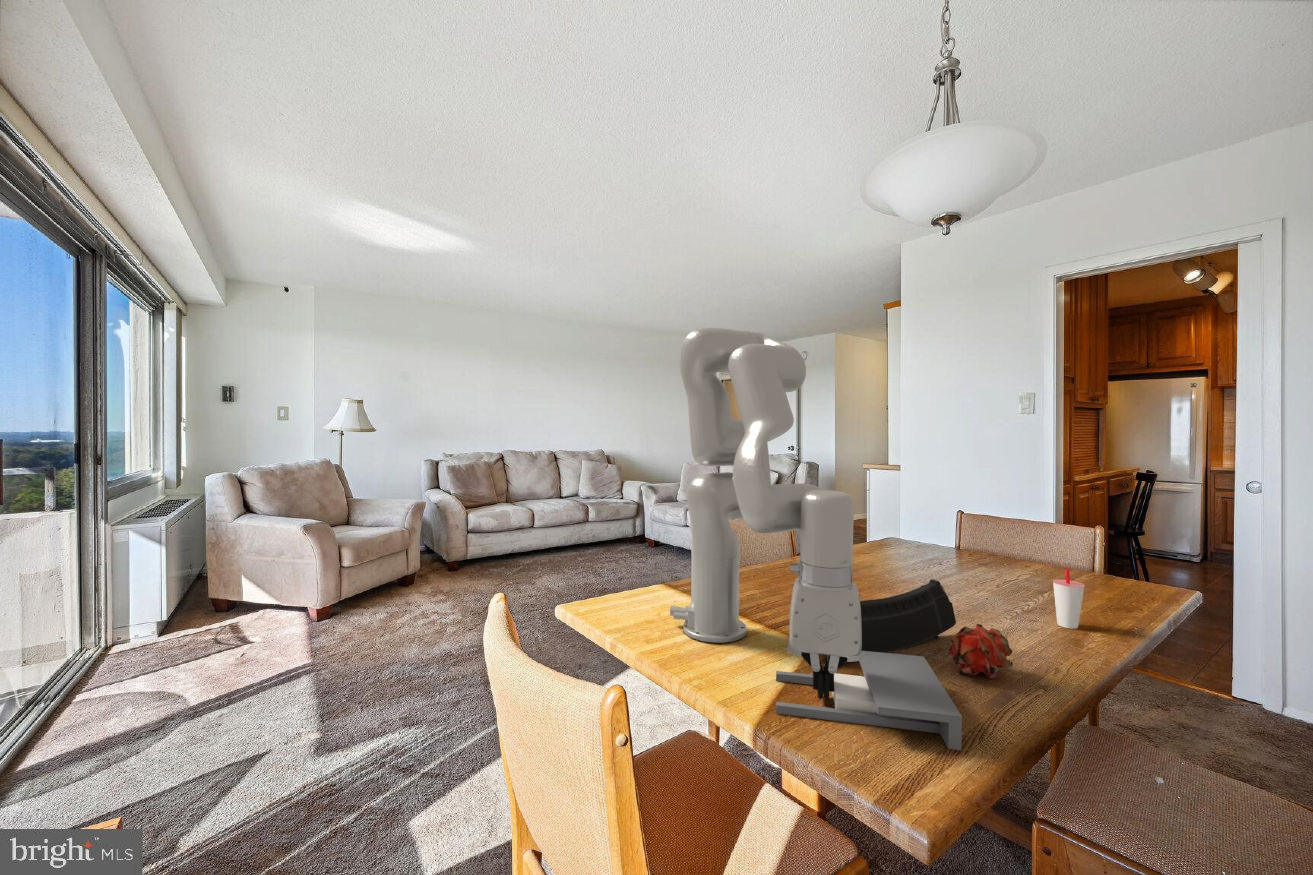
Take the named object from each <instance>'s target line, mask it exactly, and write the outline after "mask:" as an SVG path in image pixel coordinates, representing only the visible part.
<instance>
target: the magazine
mask: <svg viewBox="0 0 1313 875" xmlns="http://www.w3.org/2000/svg"><path fill="white" fill-rule="evenodd" d="M945 590H946V589H945V588H944V586H943V584H941V582H940V581H939V580H937V579H933V578H931V579H930V580H929V581H928V583H925V584H922V585H921V586H920V587H917V588H915V589H912V590H909V591H906V592H904V593H901V594H896V595H893V596H889V597H884V598H876V599H867V600H866V599H865V600H860V605H861V621H862V649H861V651H870V652H880V653H892V652H893V653H894V652H896V651H901V650H904V649H908V648H912V647H913V646H917V645H919V644H921V643H924V642H927V641H928V640H930V639H933V638H934V639H937V640H939V639H940V637H939V635H941V634H943V633H945V632H946V631H949V630H950V629H952V628H953V627H954V626H955V625H956V624H957V620H956V615H955V611H954V605H953V602H951V601H950V599H949V596H948V595H947V593H946V591H945ZM820 655H821V656H823V657H825V658H828V655H822V654H820Z"/></svg>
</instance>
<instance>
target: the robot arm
mask: <svg viewBox="0 0 1313 875" xmlns="http://www.w3.org/2000/svg"><path fill="white" fill-rule="evenodd" d="M681 344H682V345H681V348H680V354H679V370H680V376H681V380H682V383H683V385H684V389H685V393H686V394H685V395H686V397H687V406H688V422H689V424H688V425H689V437H690V447H691V448H690V449H691V454H692V457H693V460H694V461H695V462H696V463H697V464H699V465H701V466H706V467H732V466H733V467H732V472H730V471H729V472H727V471H726V472H711V473H704V474H700V475H698V476H696V477H695V478H693V479H692V480H691V482H690V483H689V484H688V486H687V490H686V502H687V503H686V504H687V509H688V513H689V520H690V534H691V536H690V537H691V539H690V540H691V541H690V542H691V548H690V549H691V550H690V551H691V552H690V553H691V561H690V562H691V563H690V564H691V569H690V570H691V572H690V573H691V580H690V583H691V584H690V585H691V587H690V588H691V589H690V592H691V594H690V597H691V598H690V605H685V607H681V606H677V605H676V606H674V605H670V607H669V616H670V617H672V616H673V620H679V621H680V620H682V621H684V622H683V624H682V625H683V627H682V630H683V632H684V634H685V635H687V636H688V637H690V638H691V639H695V640H697V641H701V642H705V643H713V644H715V643H716V644H717V643H718V644H719V643H721V644H722V643H725V644H726V643H731V642H736V641H739V640H741V639H742V638H744V637H745V636H746V635H747V632H748V631H747V630H748V628H747V625H746V623H745V622H744V621H743V620H741V619H740V542H739V539H738V536H737V534H736V533H735V531H734V529H733V528H732V526H731V524H730V521H734V520H743V521H744V522H745V524H746V525H747V526H748V528H750V529H751V530H752V531H754V532H756V533H758V534H763V535H764V534H765V535H766V534H774V533H784V532H785V533H786V532H799V531H800V535H799V536H800V537H799V538H800V539H799V541H800V543H799V560H797V562H795V563H792V562H791V563H789V573H794V574H795V575H797V577H796V578H795V580H794V584H793V587H792V593H791V601H790V609H789V611H790V612H789V622H788V623H789V625H788V626H789V628H788V633H789V634H788V636H789V639H788V643H787V646H786V648H787V652H788V653H789V654H792V655H794V656H797V657H801V658H803V660H804V661H805V662H806V663H807V664H808V665H809V666H810V667H811V669H812V675H813V685H812V690H815V691H816V690H817V699H820V700H822V699H825V700H827V701H828V700H830V693H832V692H834V673H836V674H837V672H838V671H837V670H839V669H840V668H841V667H842V666H843V665H845V664H846V663H847V662H849V663H851V662H852V663H853V662H859V661H861V660H862V654H861V649H862V621H861V605H860V601H861V599H860V592H859V588H858V585H857V584H856V583H854V582H853V567H854V565H853V564H854V562H853V561H854V560H853V556H854V554H853V553H854V524H855V523H854V520H855V518H854V516H855V515H854V514H855V502H854V499H853V497H852V496H851V494H849V493H847V492H844V491H841V490H835V489H834V490H831V489H825V488H822V487H819V486H817V485H814V484H811V483H805V482H804V483H780V484H772V478H771V466H770V455H769V444H768V442H770V441H772V440H775V439H778V438H779V437H781V436H783V435H785V434H786V433H787V432H789V431H790V429H792V427H793V425H794V423H795V422H794V421H795V420H794V419H795V418H794V415H793V411H792V409H791V405H790V403H789V402H790V401H789V399H788V395H787V393H792V392H795V391H797V390H798V389H800V388H801V387H802V385H803V384H804V382H805V380H806V376H807V366H806V362H805V360H804V358H803V356H802V353H800V352H799V350H797V349H796V348H795V347H793V346H791V345H790V344H787V343H785V342H782V341H781V340H778V339H777V338H774V337H772V336H769V335H767V334H764V333H760V332H757V331H748V330H739V329H737V330H736V329H731V328H724V327H723V328H721V327H701V328H697V329H694V330H693V331H691V332H690V333H688V334H687V335H686V336H685V338H684V340H683V342H682V343H681ZM717 373H726V374H729V376H730V380H731V385H732V388H733V393H734V396H735V399H736V403H737V406H738V411H739V414H740V418H741V419H737V418H735V419H734V418H733V417H732V411H731V410H732V409H731V399H730V395H729V393H728V390H727V389H726V387H725V385H724V383H723V382H722V380H720V378H719V377H718V376H717V375H716V374H717ZM821 654H822V655H821ZM819 655H821V656H823V655H828V657H826V658H827V660H826V662H825V663H824V665H823V664H822V660H821V661H820V657H819Z"/></svg>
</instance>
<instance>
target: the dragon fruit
mask: <svg viewBox="0 0 1313 875" xmlns="http://www.w3.org/2000/svg"><path fill="white" fill-rule="evenodd" d="M975 625H976V626H975V628H971V627H968V626H963V627H962V628H960V629H959V631H957V633H955V635H953V636H952V638H951V639H950V646H949V648H948V655H950V658H951V660H952V661H953V663H954V664H955V665H958V666H960V668H959V670H958V671H957V672H958V673H959V674H960V675H961V674H962V675H963V674H965V675H968V676H976V675H977V674H980V673H984V675H985V676H986V678H988V679H989V680H990V679H991V680H992V679H993V678H995V677H998V676H999V671H1001V669H1000V668H1003V669H1006V670H1007V669H1011V668H1012V667H1013V666H1014V663H1013V661H1011V659H1008V658H1007V657H1011V656H1012V654H1013V653H1014V652H1013V649H1012V648H1011V646H1010V644H1009V640H1008V638H1007V637H1005V636H1004V635H1003V634H1002V633H1001V631H1000V630H999V629H996V628H993V627H991V628H990V629H986V628H984V626H983V624H980V623H976V624H975Z"/></svg>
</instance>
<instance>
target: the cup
mask: <svg viewBox="0 0 1313 875" xmlns="http://www.w3.org/2000/svg"><path fill="white" fill-rule="evenodd" d="M1064 571H1065V573H1064V574H1065V579H1052V582H1053V584H1052V585H1053V593H1054V595H1053V596H1054V604H1055V615H1056V624H1057V625H1058V626H1060V627H1062V628H1066V629H1071V630H1072V629H1073V630H1074V629H1078V628H1079V623H1080V619H1081V611H1082V603H1083V598H1084V591H1085V586H1086V585H1085V584H1084V583H1082V582H1078V581H1073V580H1070V568H1066V569H1065V570H1064Z"/></svg>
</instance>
